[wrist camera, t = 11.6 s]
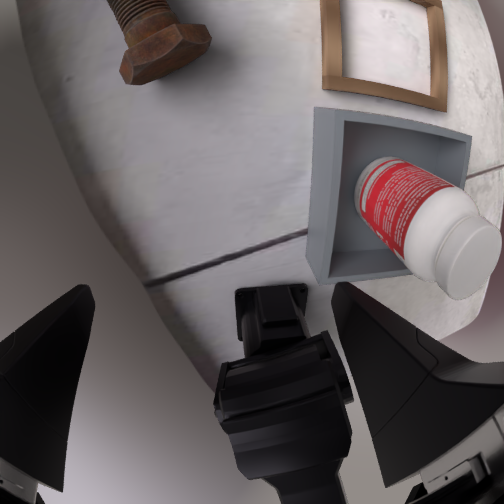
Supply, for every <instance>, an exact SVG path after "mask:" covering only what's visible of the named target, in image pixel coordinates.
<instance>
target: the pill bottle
mask: <svg viewBox="0 0 504 504" xmlns="http://www.w3.org/2000/svg"><path fill="white" fill-rule="evenodd" d="M354 203H355V208H356V210H357V213H358V215H359V216H360V218H361V219H362V220H363V221H364V222H365V224H366V225H367V226H368V227H369V228H370V229H371V230H372V231H373V232H374V233H375V234H376V235H377V236H378V237H379V238H380V239H381V240H382V241H383V242H384V243H385V244H386V245H387V246H388V247H389V248H390V249H391V250H392V252H393V253H394V254H395V255H396V256H397V257H398V258H399V259H400V260H401V261H402V262H403V263H404V265H405V266H406V267H407V268H408V269H409V270H410V271H411V272H412V273H413V274H414V275H415V276H416V277H418V278H420V279H421V280H424V281H428V282H437V283H438V285H439V287H440V288H441V289H442V290H443V291H444V292H445V293H446V294H447V295H448V296H449V297H450V298H452V299H454V300H462V299H465V298H467V297H469V296H471V295H472V294H473V293H475V292H476V291H477V290H478V289H479V288H480V287H481V286H482V285H483V284H484V283H485V282H486V281H487V279H488V278H489V276H490V275H491V273H492V272H493V270H494V268H495V266H496V264H497V261H498V259H499V256H500V252H501V246H502V239H501V234H500V231H499V229H498V228H497V227H496V226H494V225H493V224H492V223H490V222H489V221H488V220H487V219H486V218H484V217H482V216H480V213H479V209H478V207H477V205H476V203H475V201H474V200H473V198H472V197H471V196H470V195H469V194H467V193H466V192H465V191H463V190H462V189H460V188H458V187H457V186H455V185H453V184H451V183H449V182H447V181H445V180H444V179H442V178H440V177H438V176H436V175H434V174H432V173H430V172H428V171H426V170H424V169H422V168H420V167H418V166H416V165H414V164H412V163H410V162H407V161H405V160H403V159H400V158H397V157H392V156H389V157H382V158H379V159H376V160H374V161H373V162H371V163H370V164H369V165H368V166H367V167H366V168H365V169H364V170H363V171H362V173H361V174H360V176H359V178H358V181H357V183H356V187H355V192H354Z"/></svg>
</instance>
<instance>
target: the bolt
mask: <svg viewBox="0 0 504 504" xmlns="http://www.w3.org/2000/svg"><path fill="white" fill-rule="evenodd" d="M107 2H108V3H109V6H110V8H111V9H112V11H113V12H114V15H115V17H116V20H117V21H118V24H119V25H120V28H121V30H122V31H123V34H124V36H125V41H126V43H127V45H128V47H129V49H128V50H126V51H125V53H124V56H123V59H122V63H121V66H120V70H119V72H120V74H121V76H122V77H123V79H124V81H125V83H126V84H130V85H143V84H146V83H148V82H151V81H153V80H156V79H159V78H161V77H163V76H165V75H168V74H170V73H171V72H173V71H175V70H177V69H180V68H182V67H183V66H185V65H187V64H188V63H190V62H192V61H193V60H195V59H196V58H198V57H199V56H201V55H202V54H204V53H205V52H206V51H207V49H208V47H209V45H210V43H211V40H212V37H211V35H210V33H209V32H208V30H207V28H206V26H205V25H202V24H181V23H180V22H179V20H178V18H177V16H176V15H175V14H174V13H173V12H172V11H171V9H170V7H169V5H168V4H167V2H166V0H107Z"/></svg>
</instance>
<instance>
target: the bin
mask: <svg viewBox="0 0 504 504" xmlns="http://www.w3.org/2000/svg"><path fill="white" fill-rule="evenodd" d="M471 142H472V136H469V135H466V134H463V133H460V132H457V131H454V130H450V129H447V128H443V127H439V126H435V125H431V124H427V123H423V122H418V121H413V120H409V119H403V118H398V117H393V116H387V115H381V114H374V113H367V112H360V111H352V110H342V109H332V108H320V107H314V131H313V158H312V179H311V196H310V210H309V224H308V236H307V248H306V259H307V261H308V263H309V265H310V267H311V269H312V271H313V273H314V275H315V277H316V279H317V281H318V284H319V285H327V284H336V283H337V282H343V281H347V282H355V281H364V280H372V279H380V278H388V277H396V276H404V275H411V274H413V273H412V272H411V271H410V270H409V269H408V268H407V267H406V266H405V265H404V263H403V262H402V261H401V260H400V259H399V258H398V257H397V256H396V255H395V254H394V253H393V252H392V250H391V249H390V248H389V247H388V246H387V245H386V244H385V243H384V242H383V241H382V240H381V239H380V238H379V237H378V236H377V235H376V234H375V233H374V232H373V231H372V230H371V229H370V228H369V227H368V226H367V225H366V224H365V222H364V221H363V220H362V219H361V218H360V216H359V215H358V213H357V210H356V208H355V203H354V192H355V187H356V183H357V181H358V178H359V176H360V174H361V173H362V171H363V170H364V169H365V168H366V167H367V166H368V165H369V164H370V163H371V162H373V161H374V160H376V159H379V158H382V157H389V156H392V157H397V158H400V159H403V160H405V161H407V162H410V163H412V164H414V165H416V166H418V167H420V168H422V169H424V170H426V171H428V172H430V173H432V174H434V175H436V176H438V177H440V178H442V179H444V180H445V181H447V182H449V183H451V184H453V185H455V186H457V187H458V188H460V189H462V190H463V191H464V186H465V181H466V175H467V169H468V163H469V157H470V150H471Z"/></svg>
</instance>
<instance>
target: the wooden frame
mask: <svg viewBox="0 0 504 504" xmlns="http://www.w3.org/2000/svg"><path fill="white" fill-rule="evenodd" d="M410 1H412V2H415V3H417V4H419V5H422V6H424V7H426V9H427V17H428V27H429V40H430V61H431V92H430V96H428V95H425V94H422V93H418V92H414V91H411V90H407V89H403V88H399V87H395V86H390V85H386V84H381V83H376V82H371V81H365V80H360V79H354V78H347V77H342V41H341V19H340V4H339V0H320V11H321V33H322V89H326V90H335V91H344V92H351V93H358V94H365V95H371V96H376V97H382V98H387V99H392V100H397V101H401V102H406V103H410V104H414V105H418V106H422V107H426V108H430V109H433V110H437V111H441V112H446V113H447V91H448V67H447V44H446V32H445V22H444V14H443V7H442V1H441V0H410Z"/></svg>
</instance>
